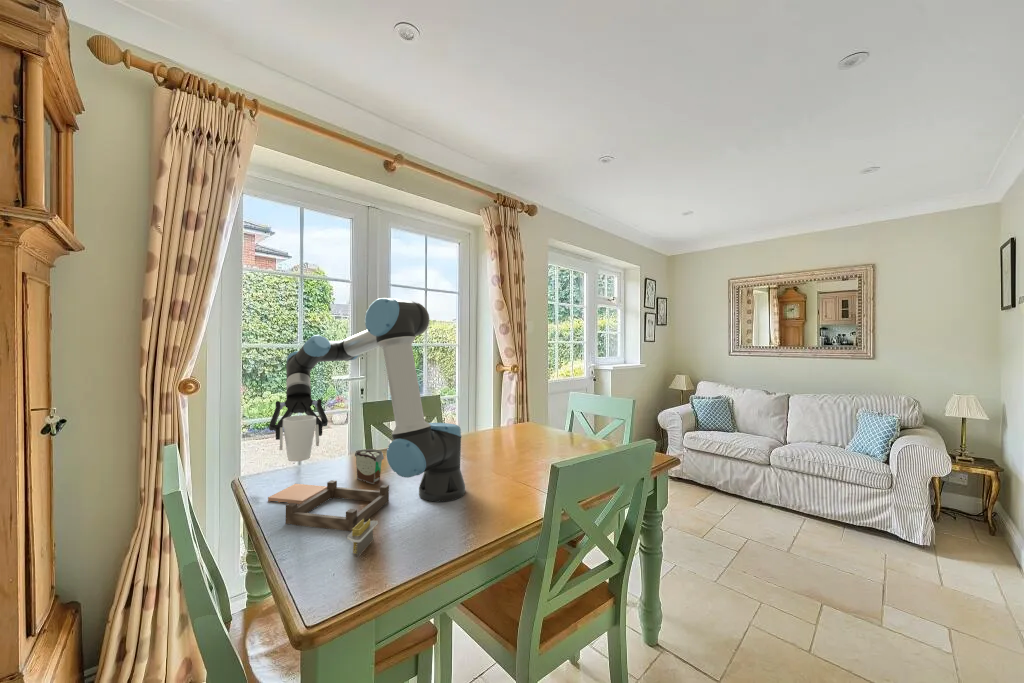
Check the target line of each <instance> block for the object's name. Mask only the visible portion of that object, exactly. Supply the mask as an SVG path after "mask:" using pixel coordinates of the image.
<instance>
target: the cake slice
mask: <svg viewBox="0 0 1024 683" xmlns="http://www.w3.org/2000/svg"><path fill="white" fill-rule="evenodd" d="M354 457H355V466H356V467H355V468H356V479H357V480H359V481H362V480H363V481H362V482H365V481H366V483H369V484H371V485H375V484H379V482H380V480H381V471H382V461H383V460H384V459H385V457H384V453H383V451H382V450H380V449H374V448H366V449H359V450H355V453H354Z"/></svg>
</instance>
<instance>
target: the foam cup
mask: <svg viewBox="0 0 1024 683" xmlns="http://www.w3.org/2000/svg"><path fill="white" fill-rule="evenodd" d="M315 427H316V417H315V416H310V415H307V414H305V415H304V414H303V415H294V416H293V415H291V416H290V417H287V418H284V419H283V434H284V435H283V436H284V441H285V449H286V457H287V461H288V462H302V461H306V460H309V459H311V454H312V450H313V449H312V448H313V443H314V438H315V437H314V436H315Z"/></svg>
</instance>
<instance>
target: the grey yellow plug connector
mask: <svg viewBox="0 0 1024 683" xmlns="http://www.w3.org/2000/svg"><path fill="white" fill-rule="evenodd" d="M378 524H379V520H371V518H368V519H367V520H366V521H364V519H362V520H361V521H360V522H359V523H358V524H357V525H356V526H355V527H354V528H353V529H352V531H350V533H349V534H347V537H346V539H347V540H348V541H350V542H352V544H353V547H352V549H353V550H352V553H353V554H356V558H357V557H358V558H359V557H360V555H361V554H362V553H363V552H364V551H365V550H366V549H367V548H368V546H370V544H371V543H372V542H373V541H374V537H373V536H374V528H375V527H376V526H378ZM372 540H373V541H372ZM371 541H372V542H371ZM370 542H371V543H370ZM365 548H366V549H365ZM364 549H365V550H364ZM363 550H364V551H363ZM362 551H363V552H362Z"/></svg>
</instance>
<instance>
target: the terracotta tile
mask: <svg viewBox="0 0 1024 683" xmlns="http://www.w3.org/2000/svg"><path fill="white" fill-rule="evenodd" d="M326 489H327V485H326V486H325V485H315V484H304V483H303V484H302V483H294V484H292V485H290V486H288V487H286V488H284V489H282V490H280V491H278V492H276V493H273V494H272V495H270V496H268V497H267V501H268V502H270V501H278V502H277V503H280V502H288V503H287V504H290V503H297V505H300V504H302V503H304V502H305V501H307V500H309V499H310V498H312V497H314V496H316V495H317V494H319V493H321V492H322V491H324V490H326Z"/></svg>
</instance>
